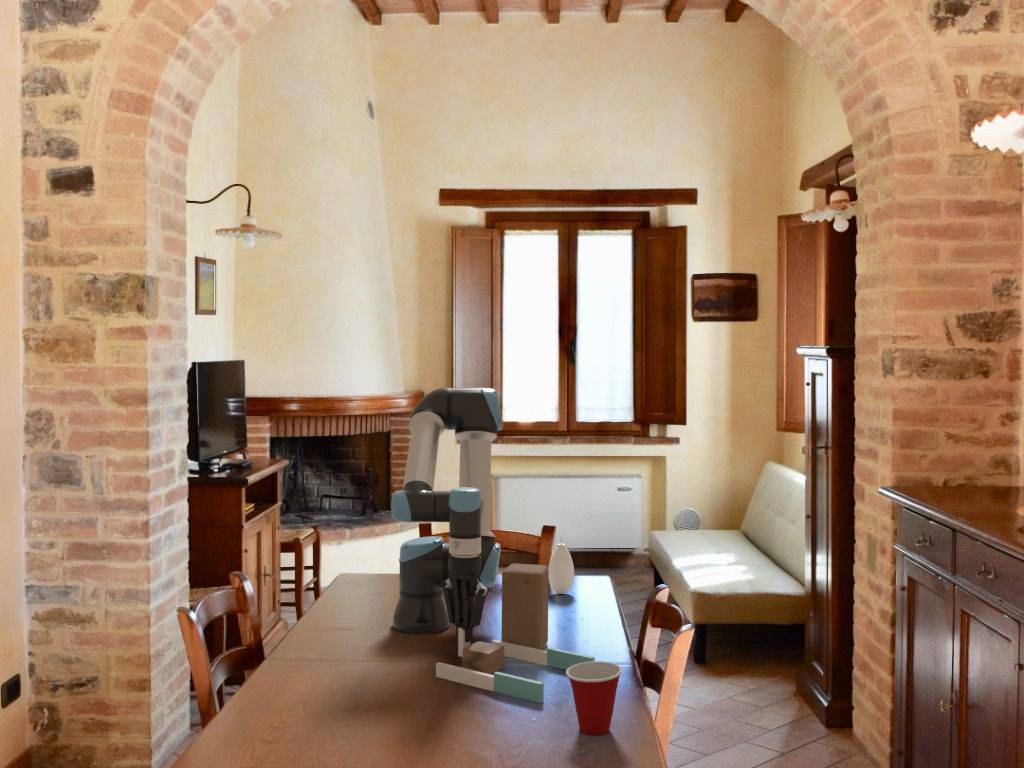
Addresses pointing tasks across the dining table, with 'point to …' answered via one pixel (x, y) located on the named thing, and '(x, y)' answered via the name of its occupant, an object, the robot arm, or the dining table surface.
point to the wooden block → (525, 605)
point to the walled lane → (509, 682)
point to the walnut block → (483, 657)
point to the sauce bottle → (561, 570)
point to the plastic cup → (594, 694)
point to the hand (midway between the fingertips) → (464, 654)
